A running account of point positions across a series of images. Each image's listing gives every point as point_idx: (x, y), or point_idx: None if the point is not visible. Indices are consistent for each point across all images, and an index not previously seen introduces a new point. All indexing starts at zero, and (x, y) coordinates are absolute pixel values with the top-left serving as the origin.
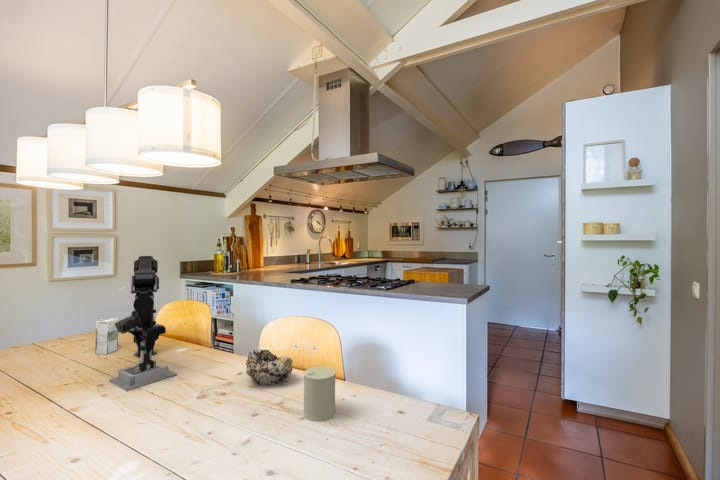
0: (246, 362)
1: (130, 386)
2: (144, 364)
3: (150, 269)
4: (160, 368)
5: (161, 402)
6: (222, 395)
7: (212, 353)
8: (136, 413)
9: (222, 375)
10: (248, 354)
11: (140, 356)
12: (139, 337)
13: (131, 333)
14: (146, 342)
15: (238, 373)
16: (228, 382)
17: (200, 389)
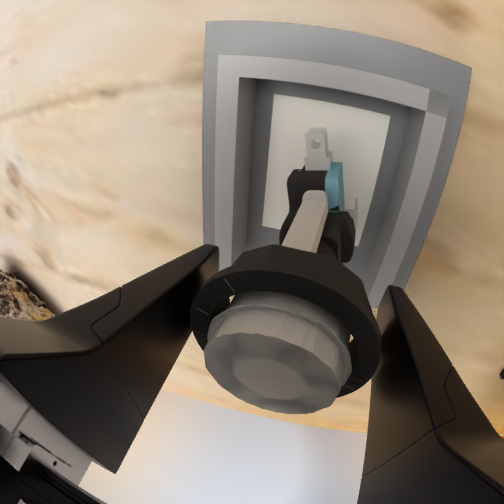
0: (18, 317)
1: (235, 49)
2: (290, 199)
3: None
4: (215, 231)
5: (32, 85)
6: (4, 204)
7: (304, 415)
8: (25, 13)
9: (98, 296)
10: None
11: (317, 223)
12: (401, 428)
13: (496, 475)
14: (87, 309)
15: None
16: (51, 264)
17: (44, 202)
